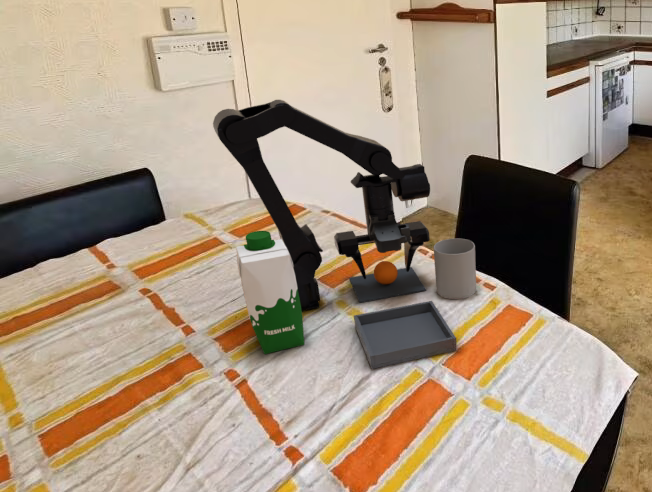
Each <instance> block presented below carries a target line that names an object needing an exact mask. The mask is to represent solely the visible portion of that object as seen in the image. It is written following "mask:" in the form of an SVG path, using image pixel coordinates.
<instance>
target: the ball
mask: <svg viewBox="0 0 652 492" xmlns="http://www.w3.org/2000/svg"><path fill="white" fill-rule="evenodd" d="M397 270H398V268H397V266H396V265H395V264H394V263H393V262H391V261H389V260H383V261H380V262H378V263H377V264H376V265H375V266H374V268H373V274H374V277H375V279H376V280H377V281H378V282H379V283H381V284H385V285H387V284H391V283H393V282H394V281H395V280H396V278H397V274H398V271H397Z"/></svg>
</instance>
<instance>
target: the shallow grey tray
mask: <svg viewBox="0 0 652 492" xmlns="http://www.w3.org/2000/svg"><path fill="white" fill-rule="evenodd" d="M353 318H354V319H353V320H354V328H355V330H356V332H357V336H358V338H359V340H360V343H361V345H362V348H363V350H364V353H365V355H366V358H367V360H368V363H369V366H370V368H371V369H372V370H374V369H378V368H383V367H387V366H392V365H397V364H400V363H406V362H410V361H415V360H419V359H423V358H428V357H432V356H433V357H434V356H437V355H441V354H446V353H451V352H455V351H457V349H458V348H457V346H458V345H457V337H456V335H455V334H454V332H453V331H452V329H451V327H450V326H449V325H448V323H447V322H446V320H445V319H444V317H443V316H442V314H441V313H440V310H438V308H437V306H436V304H435V303H434V302H433V300H428V301H423V302H418V303H413V304H412V303H411V304H407V305H400V306H397V307H391V308H385V309H381V310H380V309H379V310H376V311H370V312H365V313H360V314H354V315H353Z"/></svg>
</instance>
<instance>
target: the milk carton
mask: <svg viewBox="0 0 652 492" xmlns="http://www.w3.org/2000/svg"><path fill="white" fill-rule="evenodd" d="M245 241H246V244H243V245H238V246H236V247H235V249H236V262H237V270H238V276H239V278H240V283H241V284H240V285H241V287H242V292H243V295H244V296H243V297H244V300H245V305H246V309H247V314H248V317H249V321H250V324H251V327H252V330H253V331H254V334H255V336H256V339H257V341H258V343H259V345H260V347H261V350H262V352H263V354H264V355H268V354H272V353H276V352H279V351H284V350H288V349H291V348H295V347H296V348H297V347H300V346H304V345H305V335H304V318H303V311H302V310H301V304H300V299H299V293H298V288H297V282H296V277H295V273H294V269H293V267H294V265H293V262H292V259H291V256H290V254H289V251H288V249H287V248H286V246H285V244H284V243H283V241H282V239H280V238H278V239H272V235H271V232H270V231H268V230H254V231H251V232H248V233H247V234H246V235H245ZM292 265H293V266H292Z"/></svg>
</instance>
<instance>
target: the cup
mask: <svg viewBox="0 0 652 492" xmlns="http://www.w3.org/2000/svg"><path fill="white" fill-rule="evenodd" d="M433 258H434V259H433V260H434V272H435V274H434V275H435V276H434V277H435V288H436V293H437V295H439V296H440V297H442V298H444V299H449V300H461V299H466V298H469V297H471V296H473V295H474V294H475V293H476V292H477V268H476V265H477V264H476V244H475V243H474V242H473V241H472V240H470V239H465V238H460V237H459V238H456V237H455V238H447V239H442V240H440V241H437V242H436V243H434V245H433Z"/></svg>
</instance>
